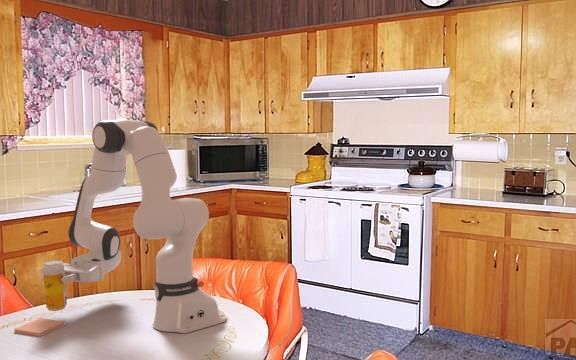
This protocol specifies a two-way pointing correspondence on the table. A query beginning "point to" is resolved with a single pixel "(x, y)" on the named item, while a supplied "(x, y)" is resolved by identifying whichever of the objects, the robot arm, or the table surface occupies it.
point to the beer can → (54, 285)
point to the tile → (39, 327)
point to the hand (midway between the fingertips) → (52, 279)
